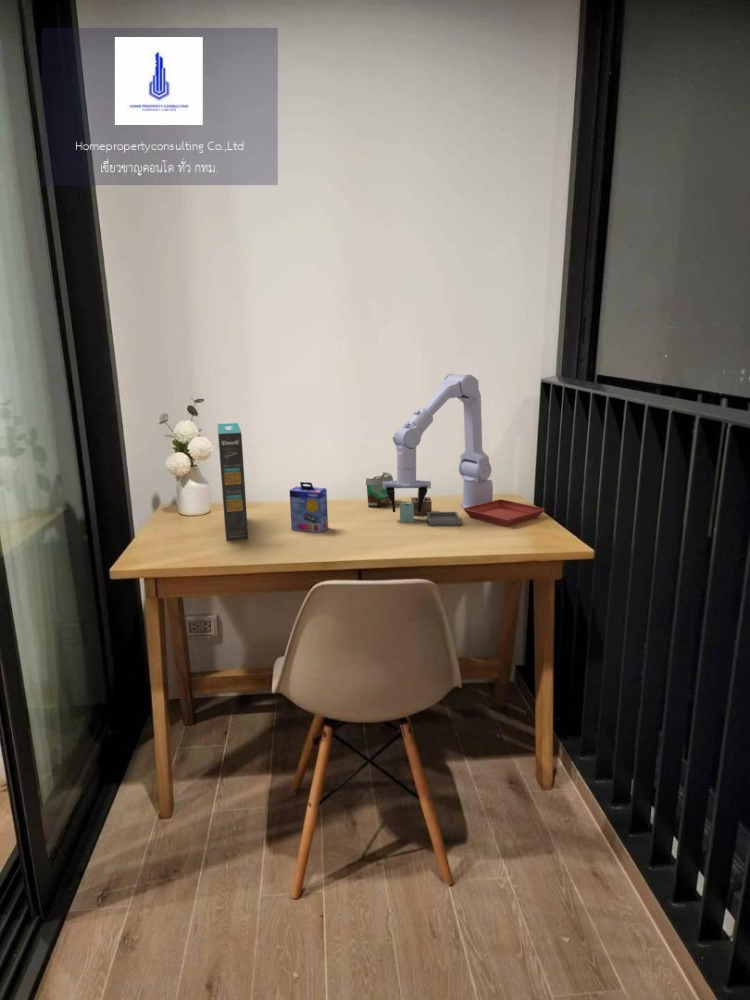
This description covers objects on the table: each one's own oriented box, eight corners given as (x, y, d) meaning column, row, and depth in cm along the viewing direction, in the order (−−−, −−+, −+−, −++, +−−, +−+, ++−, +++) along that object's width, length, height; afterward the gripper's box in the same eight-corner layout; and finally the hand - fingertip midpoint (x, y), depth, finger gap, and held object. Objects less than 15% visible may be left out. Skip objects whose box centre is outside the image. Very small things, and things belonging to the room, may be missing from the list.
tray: (456, 517, 198) (456, 511, 197) (460, 525, 189) (460, 519, 188) (426, 517, 198) (427, 512, 197) (429, 526, 189) (429, 520, 189)
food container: (382, 510, 207) (381, 480, 205) (365, 508, 210) (365, 478, 208) (399, 502, 218) (399, 473, 215) (384, 500, 221) (383, 471, 218)
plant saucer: (461, 517, 199) (461, 507, 198) (500, 508, 210) (500, 498, 209) (506, 530, 185) (507, 519, 184) (545, 519, 196) (546, 508, 195)
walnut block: (429, 510, 206) (430, 497, 205) (431, 515, 200) (431, 501, 199) (411, 510, 206) (411, 497, 205) (412, 515, 200) (412, 501, 199)
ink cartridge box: (290, 530, 187) (287, 482, 183) (298, 525, 192) (296, 478, 188) (321, 533, 184) (319, 484, 180) (328, 527, 189) (327, 480, 185)
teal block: (412, 518, 197) (412, 502, 196) (413, 522, 193) (413, 506, 192) (399, 518, 197) (399, 502, 196) (400, 522, 193) (400, 506, 192)
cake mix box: (224, 520, 198) (217, 423, 191) (244, 518, 200) (237, 423, 193) (226, 540, 178) (218, 433, 171) (248, 538, 179) (241, 432, 172)
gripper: (382, 470, 188) (382, 514, 191) (431, 469, 187) (431, 514, 191) (382, 465, 194) (382, 508, 198) (429, 465, 194) (429, 508, 198)
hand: (406, 511), depth 195 cm, fingers open, 7 cm apart
